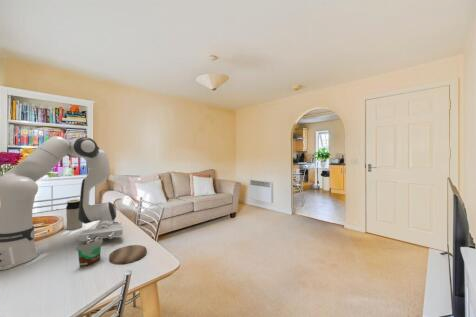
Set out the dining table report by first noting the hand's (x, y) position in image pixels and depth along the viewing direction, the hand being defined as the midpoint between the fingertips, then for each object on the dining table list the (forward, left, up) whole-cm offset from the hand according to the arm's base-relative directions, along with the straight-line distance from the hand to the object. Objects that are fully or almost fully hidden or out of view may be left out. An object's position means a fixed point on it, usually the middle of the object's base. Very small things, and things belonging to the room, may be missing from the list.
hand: (99, 238), depth 111 cm
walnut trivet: (+14, -13, -6) cm, 20 cm away
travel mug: (-21, +43, -6) cm, 48 cm away
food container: (0, -13, -6) cm, 14 cm away
